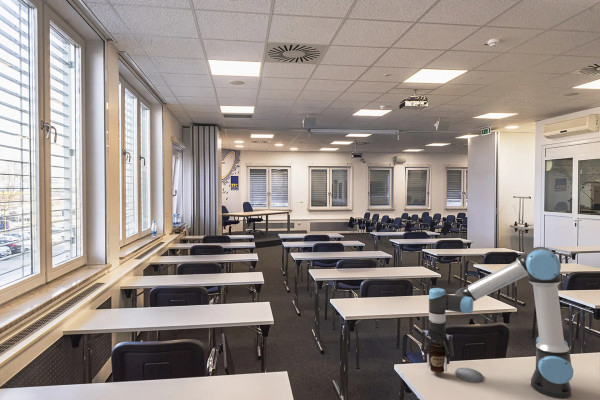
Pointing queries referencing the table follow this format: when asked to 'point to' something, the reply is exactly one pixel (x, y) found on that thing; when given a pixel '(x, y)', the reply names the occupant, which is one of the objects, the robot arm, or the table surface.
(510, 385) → the table surface
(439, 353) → the coffee cup
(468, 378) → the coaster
